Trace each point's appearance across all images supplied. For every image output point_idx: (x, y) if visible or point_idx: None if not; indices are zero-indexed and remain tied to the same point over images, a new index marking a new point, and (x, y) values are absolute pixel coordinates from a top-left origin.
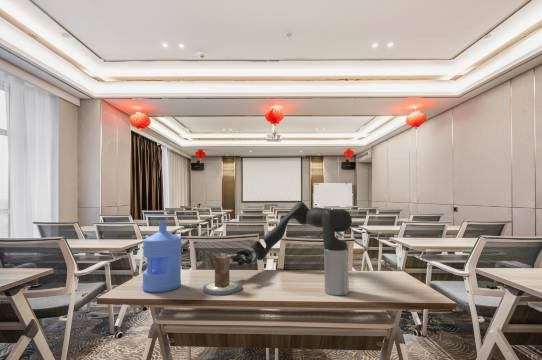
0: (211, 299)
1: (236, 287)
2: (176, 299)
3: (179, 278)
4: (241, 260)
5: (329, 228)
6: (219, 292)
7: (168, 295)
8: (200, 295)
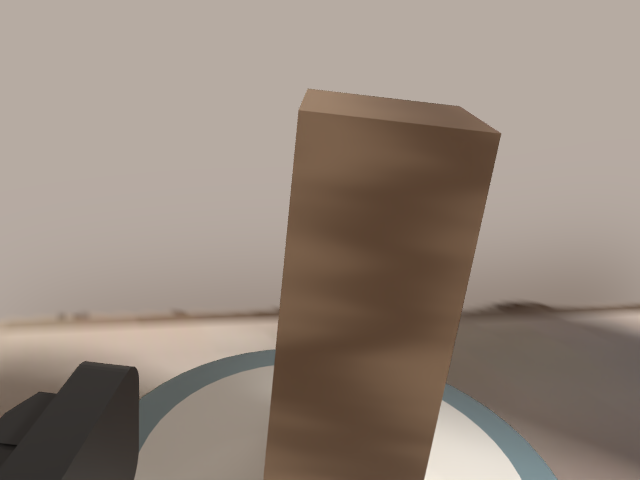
0: None
1: None
2: (499, 311)
3: None
4: (47, 418)
5: None
6: (271, 352)
7: (617, 346)
8: None
